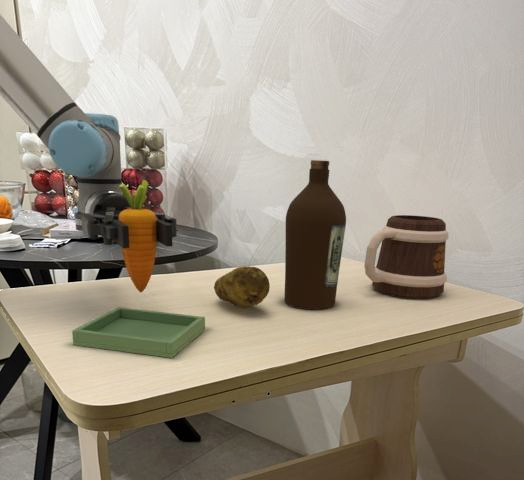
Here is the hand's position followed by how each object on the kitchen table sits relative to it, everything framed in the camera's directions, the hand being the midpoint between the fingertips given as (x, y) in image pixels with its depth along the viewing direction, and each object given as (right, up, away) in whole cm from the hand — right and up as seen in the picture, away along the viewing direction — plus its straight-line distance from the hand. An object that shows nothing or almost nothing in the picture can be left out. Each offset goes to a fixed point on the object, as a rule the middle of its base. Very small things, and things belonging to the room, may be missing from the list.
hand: (148, 236), depth 66 cm
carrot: (-3, -6, +7) cm, 10 cm away
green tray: (-3, -12, +10) cm, 16 cm away
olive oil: (+23, -6, +31) cm, 39 cm away
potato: (+11, -7, +26) cm, 29 cm away
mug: (+43, -3, +42) cm, 60 cm away
